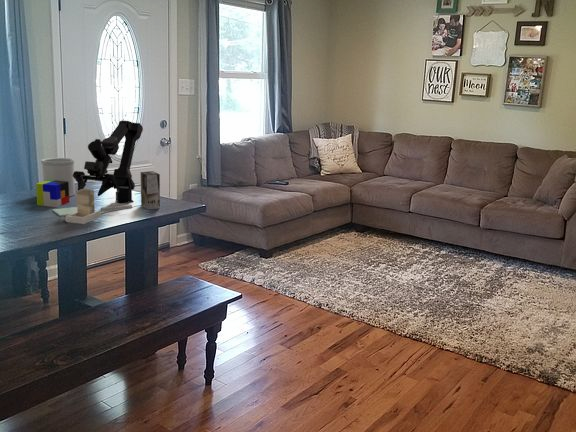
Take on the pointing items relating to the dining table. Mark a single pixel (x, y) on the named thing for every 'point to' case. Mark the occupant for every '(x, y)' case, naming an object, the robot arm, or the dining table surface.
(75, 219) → the channel
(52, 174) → the utensil holder
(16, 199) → the dining table surface
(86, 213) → the block
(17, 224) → the dining table surface
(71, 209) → the mat
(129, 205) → the rod
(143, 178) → the coffee box
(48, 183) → the puzzle toy
